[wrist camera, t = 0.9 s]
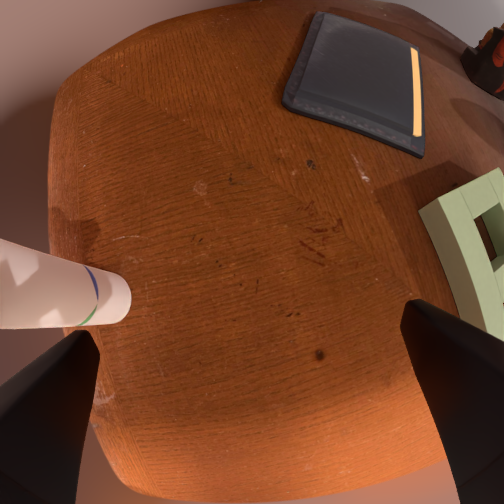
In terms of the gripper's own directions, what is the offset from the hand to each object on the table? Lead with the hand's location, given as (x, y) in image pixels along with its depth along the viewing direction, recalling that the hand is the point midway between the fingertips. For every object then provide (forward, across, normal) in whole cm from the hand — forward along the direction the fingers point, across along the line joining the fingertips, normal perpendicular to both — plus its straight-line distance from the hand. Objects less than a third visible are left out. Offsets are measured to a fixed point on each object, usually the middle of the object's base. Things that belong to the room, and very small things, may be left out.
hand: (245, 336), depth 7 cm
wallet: (+26, -15, -11) cm, 32 cm away
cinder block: (+12, -24, +9) cm, 28 cm away
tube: (+13, +12, +7) cm, 19 cm away
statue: (+29, -38, -14) cm, 49 cm away
